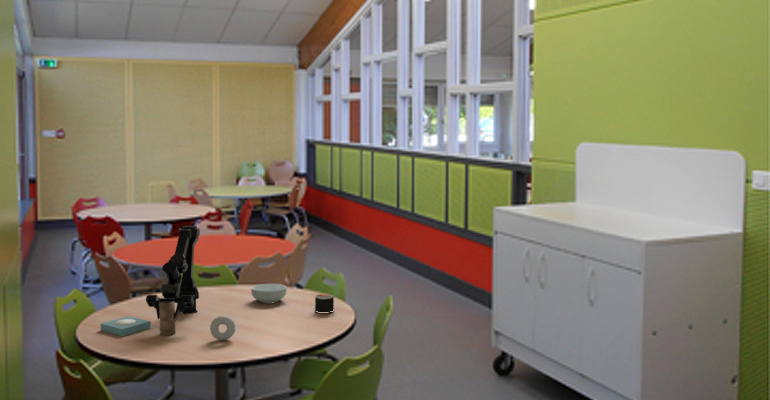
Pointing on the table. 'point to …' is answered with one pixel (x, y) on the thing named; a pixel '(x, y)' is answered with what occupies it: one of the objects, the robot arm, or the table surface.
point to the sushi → (324, 302)
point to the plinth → (125, 326)
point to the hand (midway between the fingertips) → (166, 318)
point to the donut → (226, 321)
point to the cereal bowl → (268, 292)
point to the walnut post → (167, 318)
